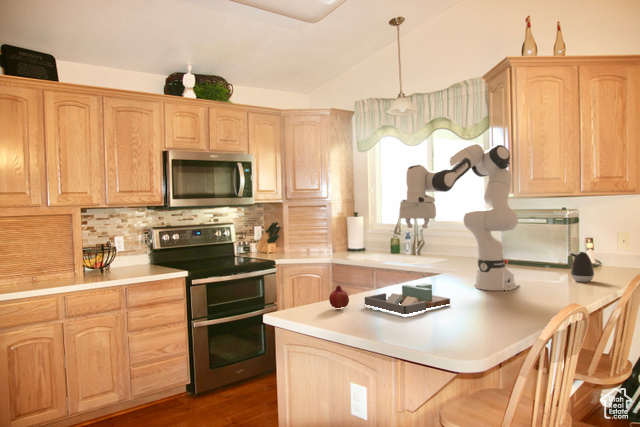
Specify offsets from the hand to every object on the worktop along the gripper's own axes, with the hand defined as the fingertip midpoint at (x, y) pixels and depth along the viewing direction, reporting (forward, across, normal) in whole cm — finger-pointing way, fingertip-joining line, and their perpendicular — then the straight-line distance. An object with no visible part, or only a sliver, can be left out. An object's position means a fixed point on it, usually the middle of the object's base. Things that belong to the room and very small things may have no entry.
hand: (417, 228), depth 210 cm
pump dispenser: (+31, +37, +81) cm, 94 cm away
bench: (+31, +16, -18) cm, 39 cm away
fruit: (+31, 0, -48) cm, 57 cm away
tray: (+31, +16, -32) cm, 47 cm away
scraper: (+28, +16, -16) cm, 36 cm away
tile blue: (+29, +12, -27) cm, 42 cm away
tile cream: (+29, +20, -27) cm, 45 cm away
